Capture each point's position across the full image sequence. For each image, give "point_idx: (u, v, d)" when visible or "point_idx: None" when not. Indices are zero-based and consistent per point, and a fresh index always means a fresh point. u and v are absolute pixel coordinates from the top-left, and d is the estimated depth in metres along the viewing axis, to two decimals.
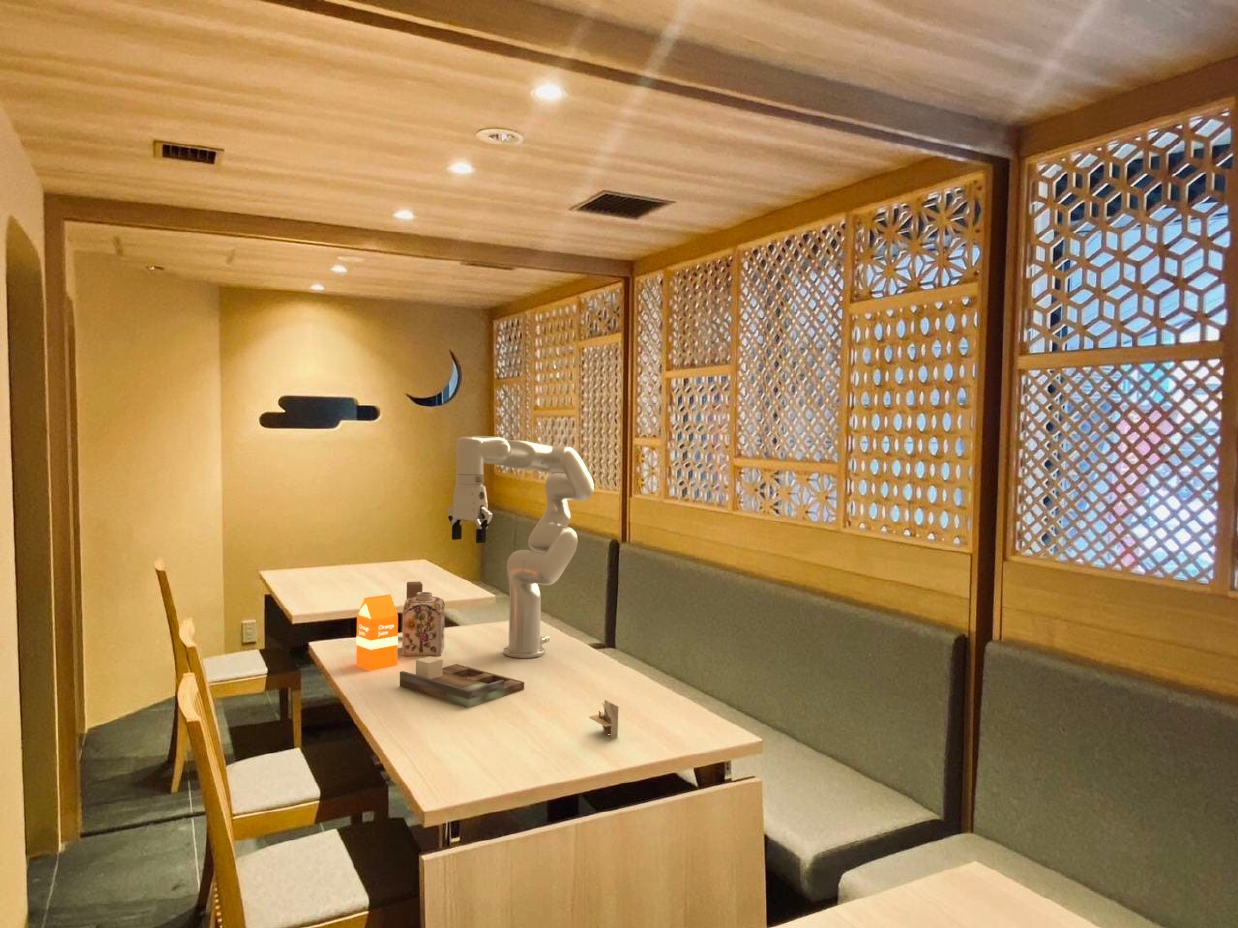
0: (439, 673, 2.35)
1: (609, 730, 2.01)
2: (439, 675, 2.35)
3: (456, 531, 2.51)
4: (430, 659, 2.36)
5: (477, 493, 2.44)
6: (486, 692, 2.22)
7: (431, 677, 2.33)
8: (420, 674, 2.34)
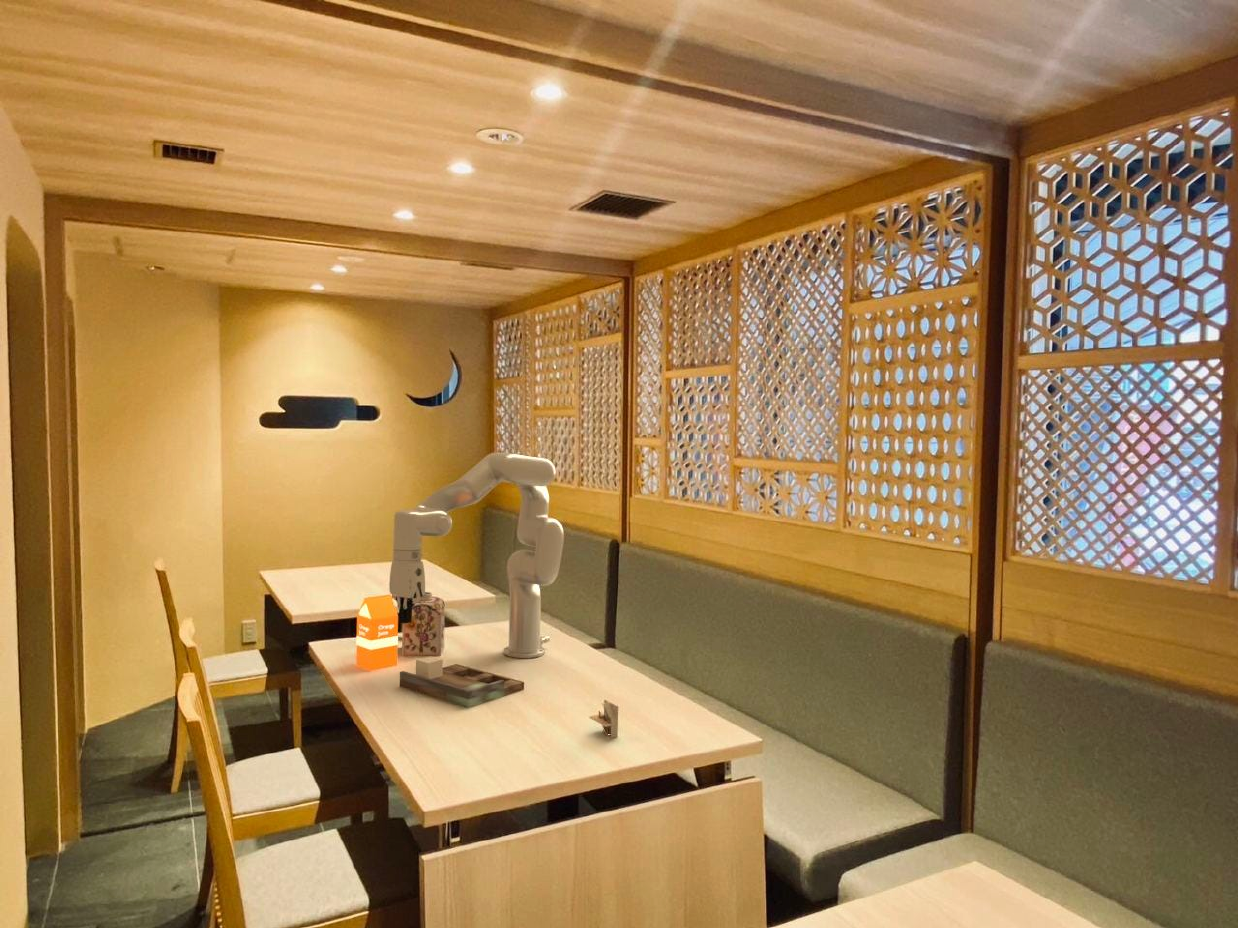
0: (439, 673, 2.35)
1: (609, 730, 2.01)
2: (439, 675, 2.35)
3: None
4: (430, 659, 2.36)
5: (413, 570, 2.36)
6: (486, 692, 2.22)
7: (431, 677, 2.33)
8: (420, 674, 2.34)
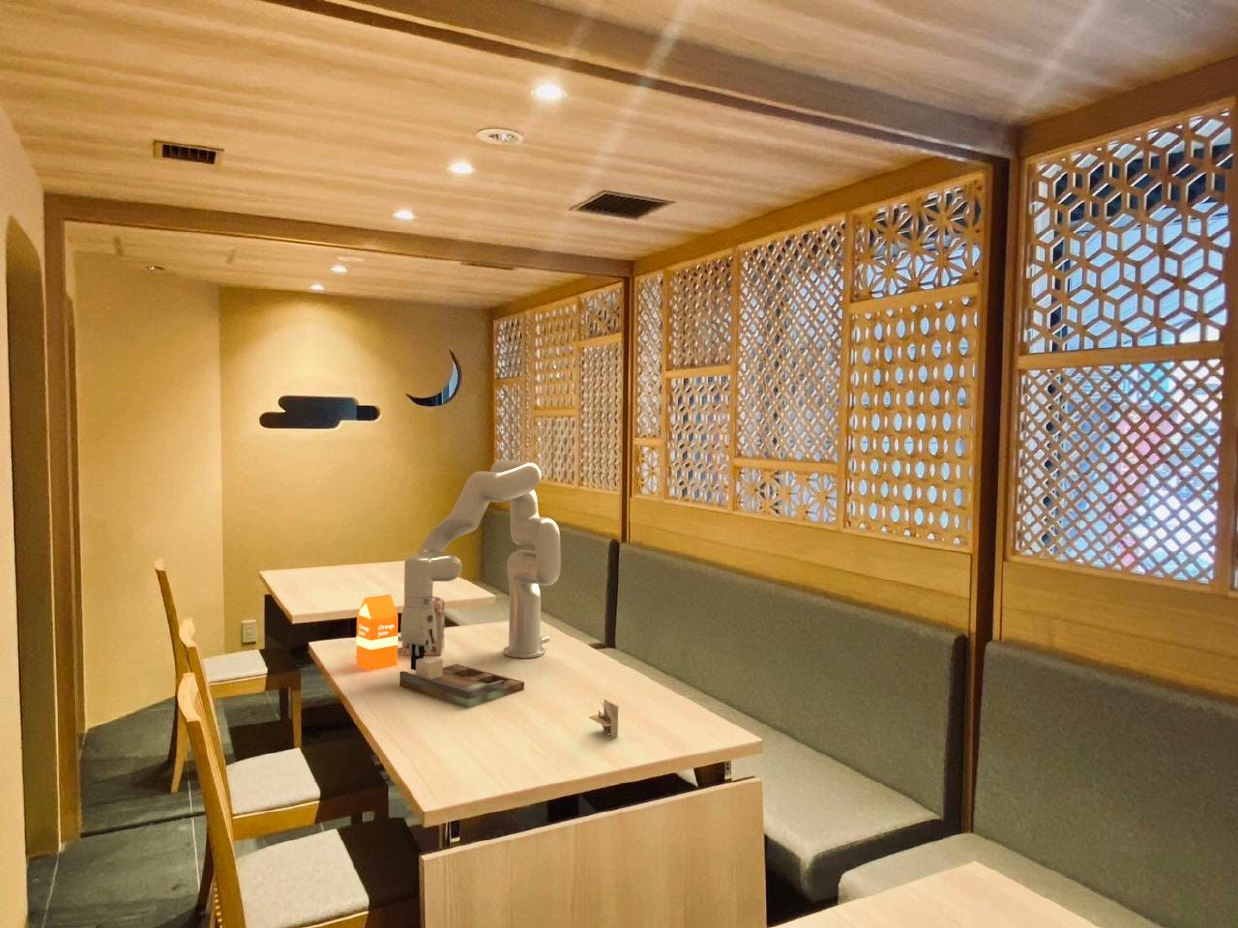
0: (439, 673, 2.35)
1: (609, 730, 2.02)
2: (439, 675, 2.35)
3: (415, 660, 2.38)
4: (430, 659, 2.36)
5: (425, 617, 2.34)
6: (486, 692, 2.22)
7: (431, 677, 2.33)
8: (420, 674, 2.34)
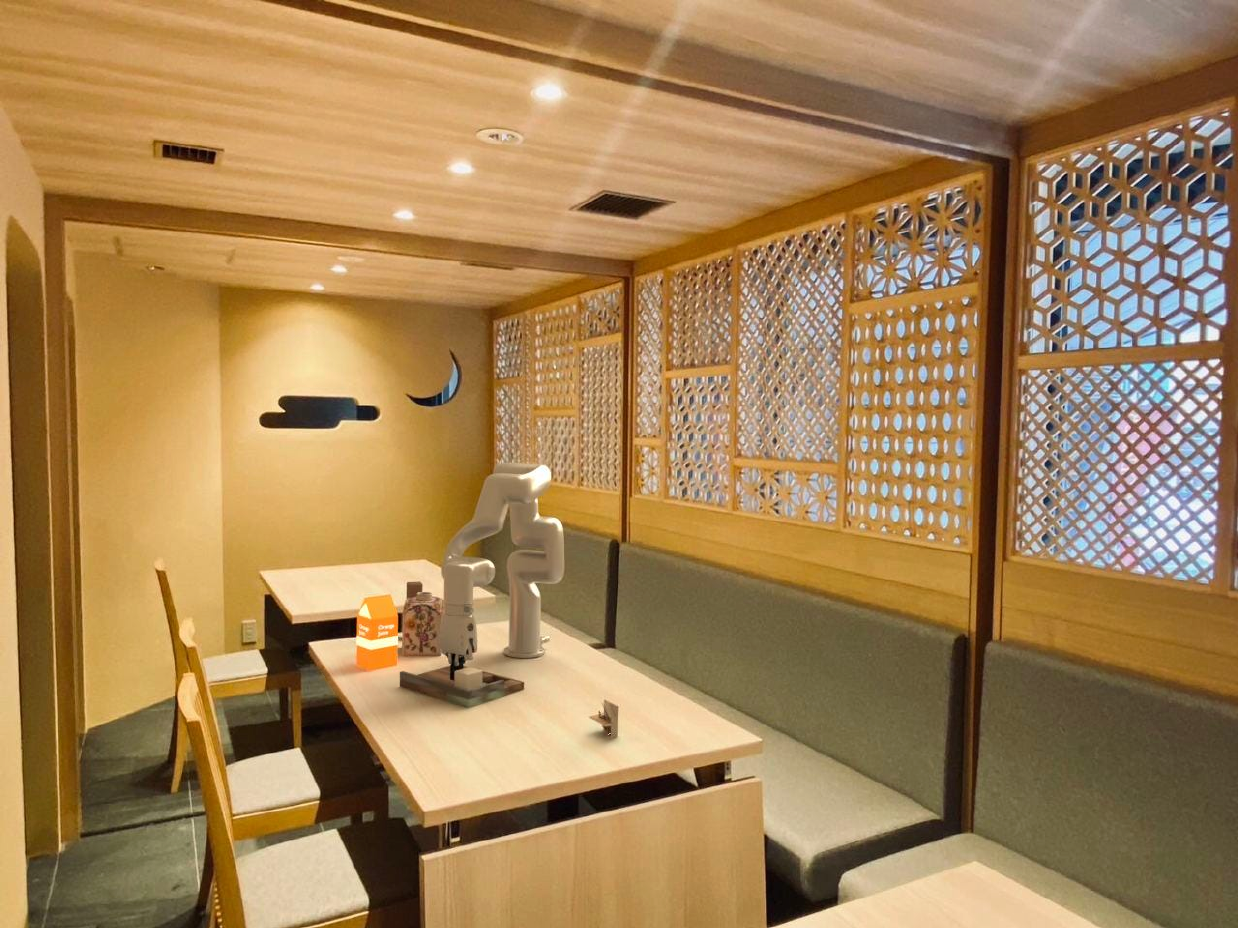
0: (479, 685, 2.26)
1: (609, 730, 2.02)
2: None
3: (455, 670, 2.29)
4: (469, 670, 2.26)
5: (465, 625, 2.25)
6: (486, 692, 2.22)
7: None
8: (459, 686, 2.25)
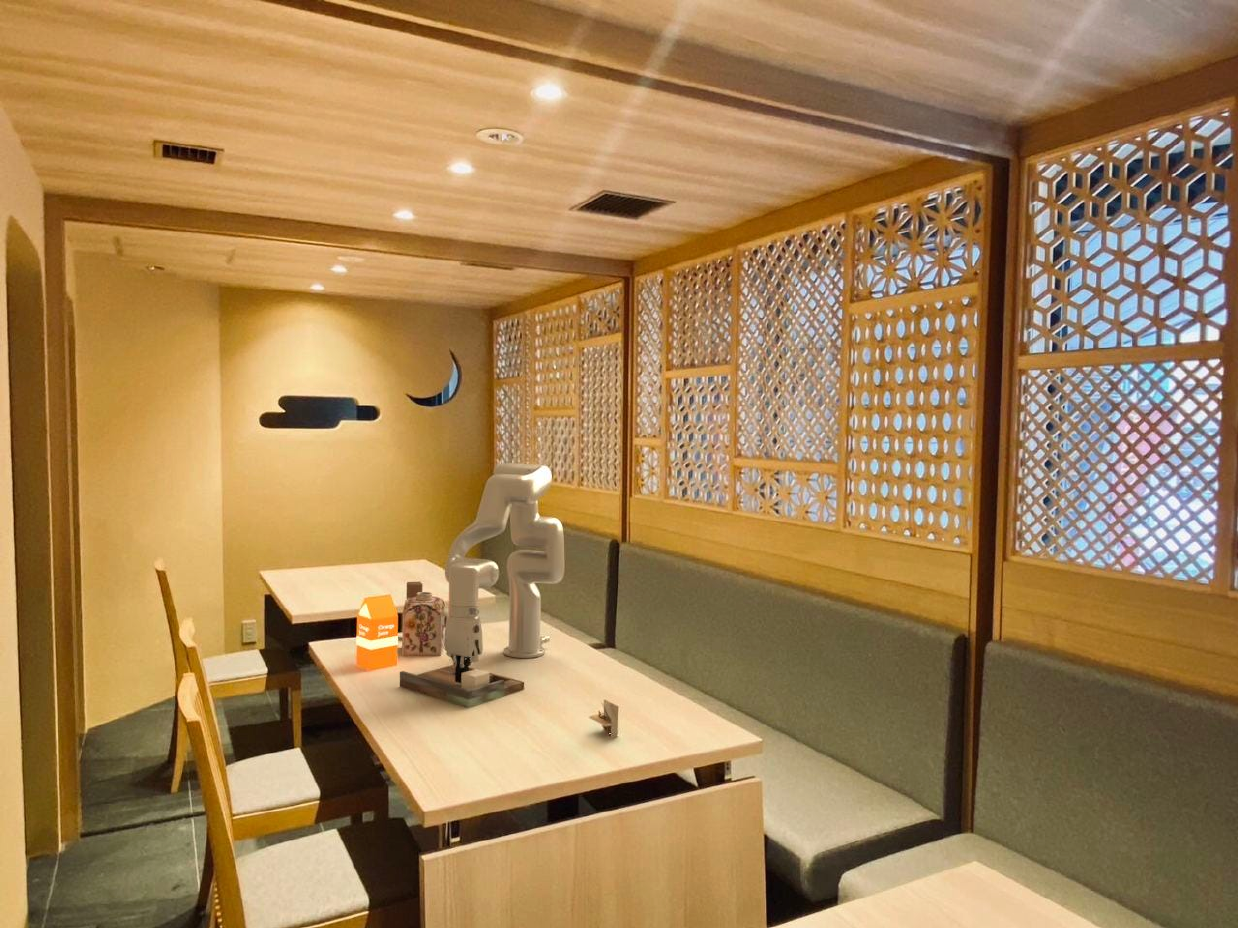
0: None
1: (609, 730, 2.02)
2: None
3: None
4: (476, 672, 2.24)
5: (471, 627, 2.24)
6: (486, 692, 2.22)
7: None
8: (466, 688, 2.23)
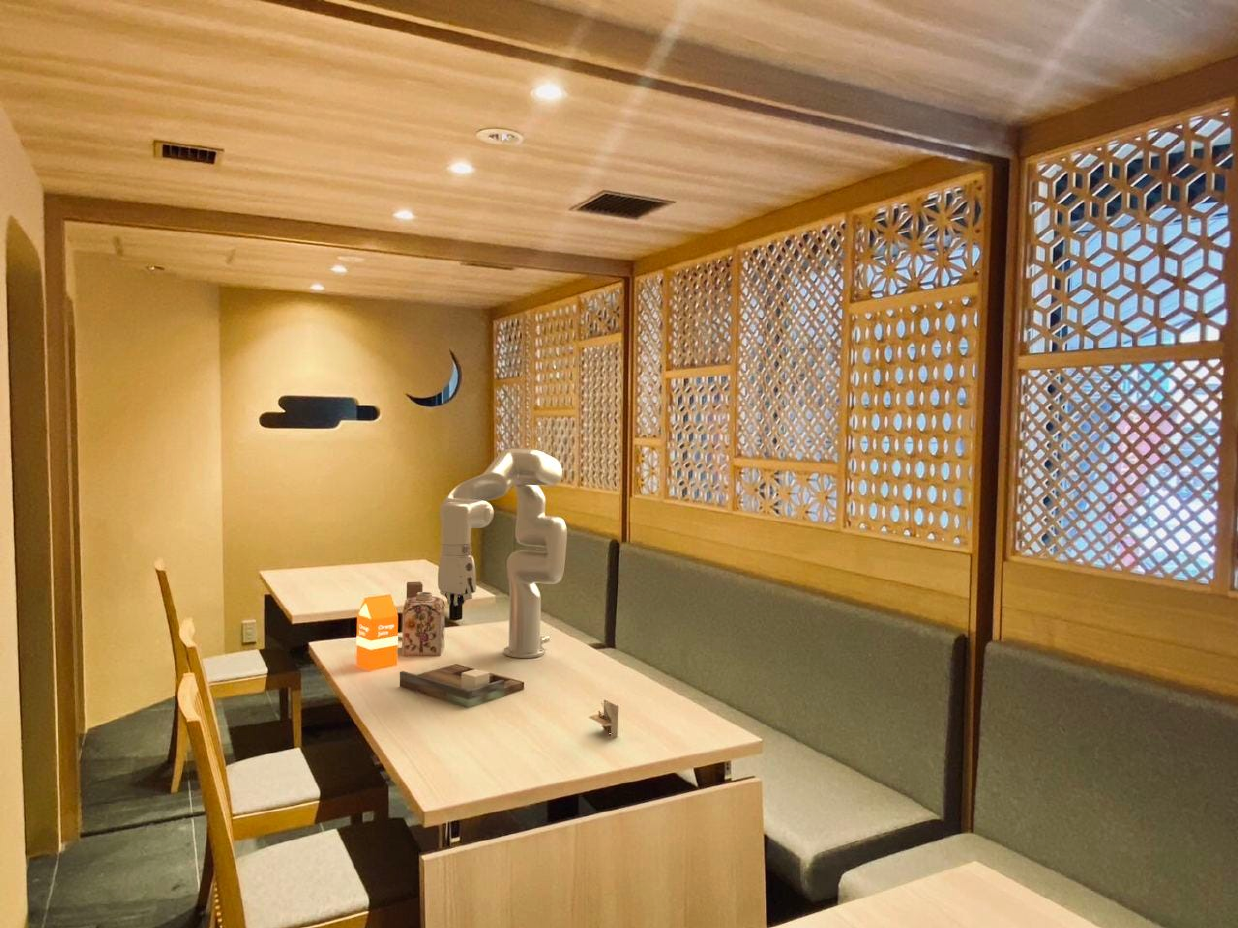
0: None
1: (609, 730, 2.02)
2: None
3: None
4: (476, 672, 2.24)
5: (464, 565, 2.25)
6: (486, 692, 2.22)
7: None
8: (466, 688, 2.23)
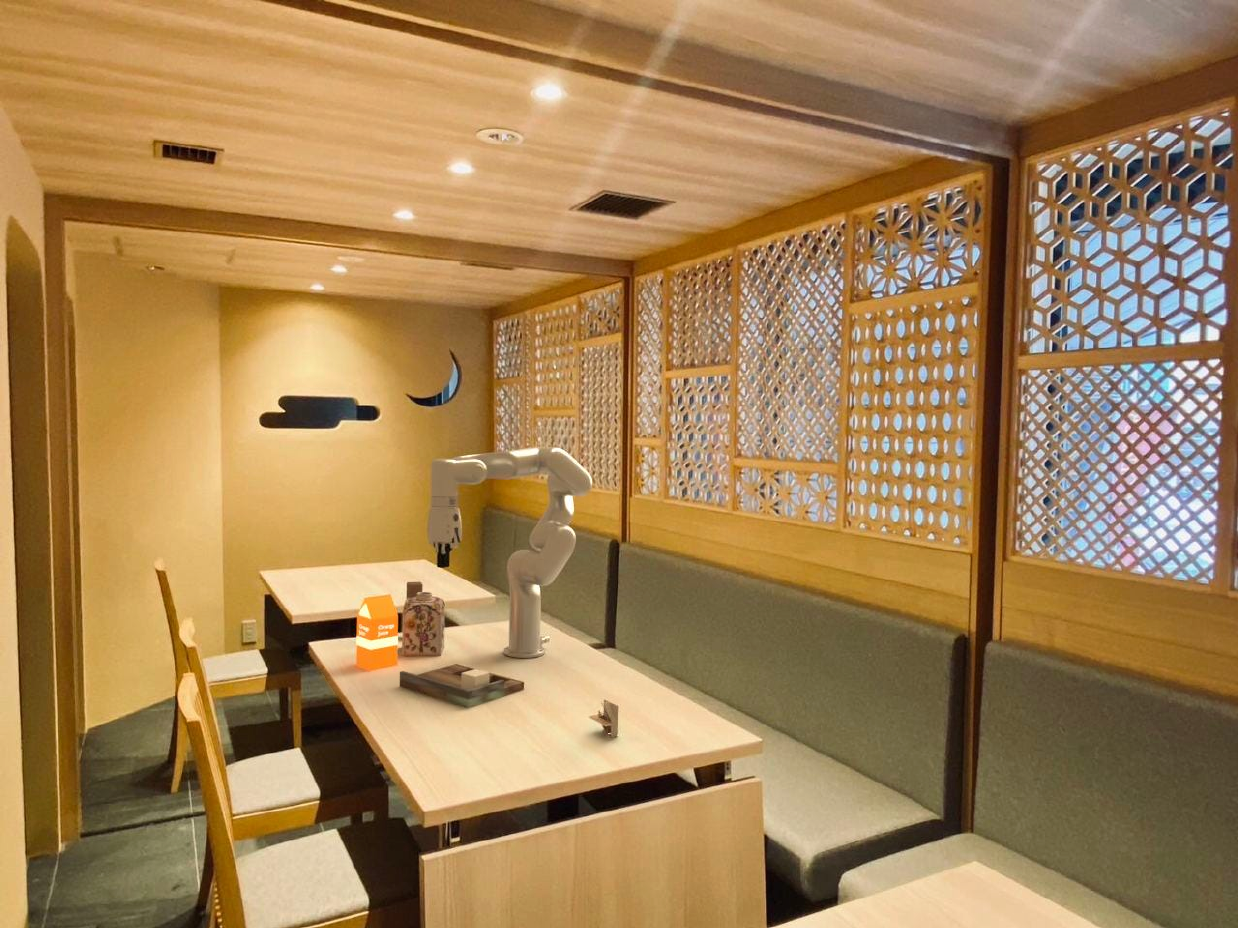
0: None
1: (609, 729, 2.02)
2: None
3: None
4: (476, 672, 2.24)
5: (451, 515, 2.45)
6: (486, 692, 2.22)
7: None
8: (466, 688, 2.23)
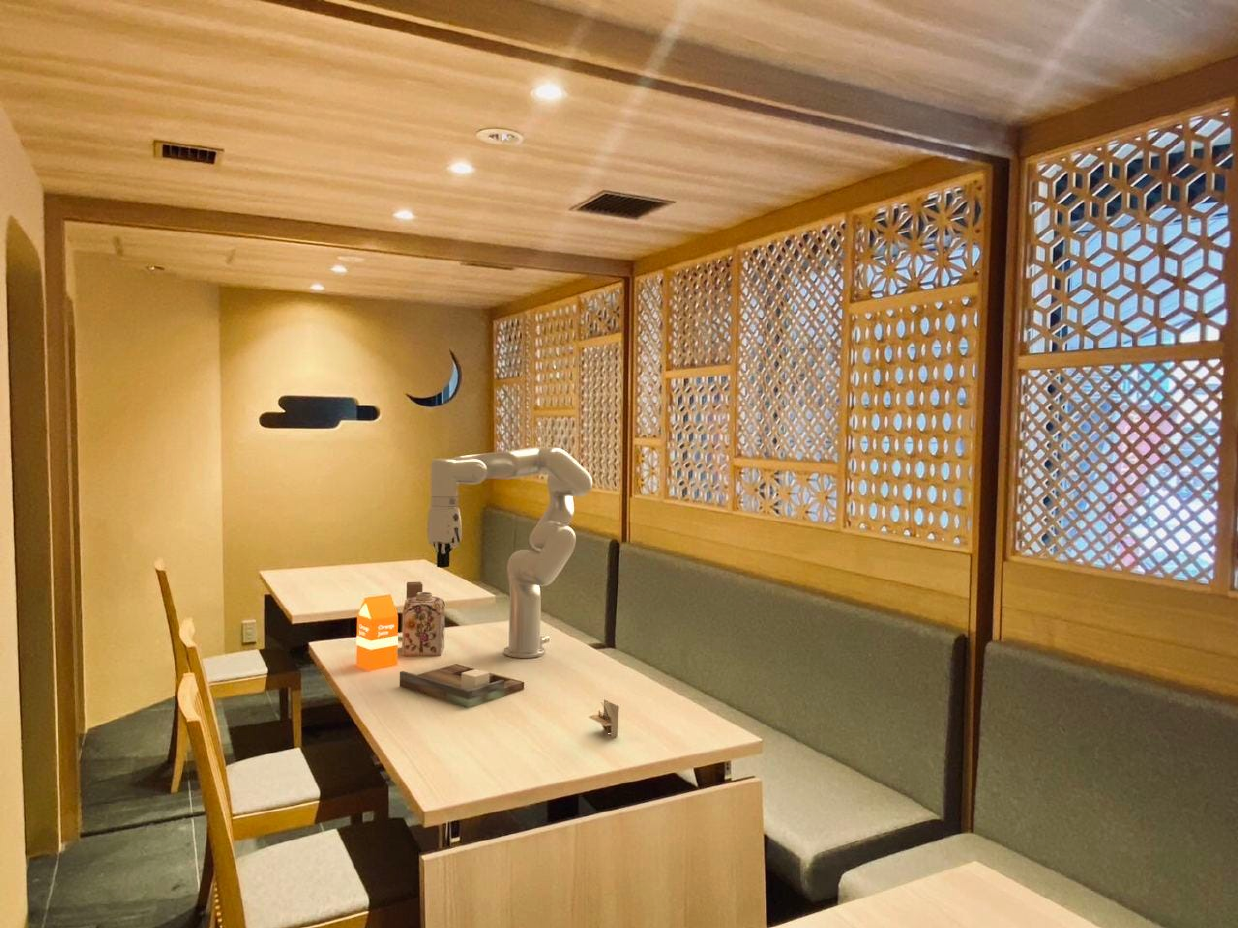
0: None
1: (609, 729, 2.02)
2: None
3: None
4: (476, 672, 2.24)
5: (451, 515, 2.45)
6: (486, 692, 2.22)
7: None
8: (466, 688, 2.23)
